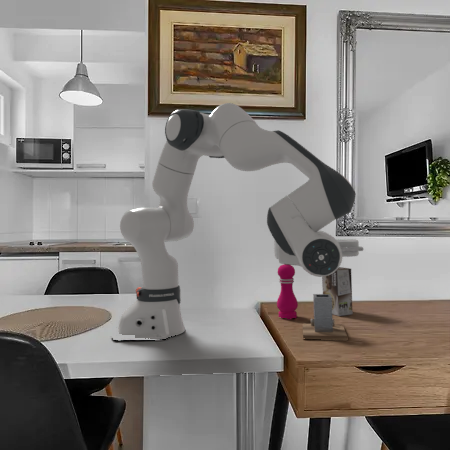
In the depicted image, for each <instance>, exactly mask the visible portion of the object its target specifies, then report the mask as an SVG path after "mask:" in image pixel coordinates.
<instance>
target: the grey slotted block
mask: <svg viewBox="0 0 450 450" xmlns="http://www.w3.org/2000/svg"><path fill="white" fill-rule="evenodd" d="M312 295H313V296H312V298H313V319H314V329H315V332H333V314H332V297H331V294H323V293H313V294H312Z"/></svg>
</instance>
